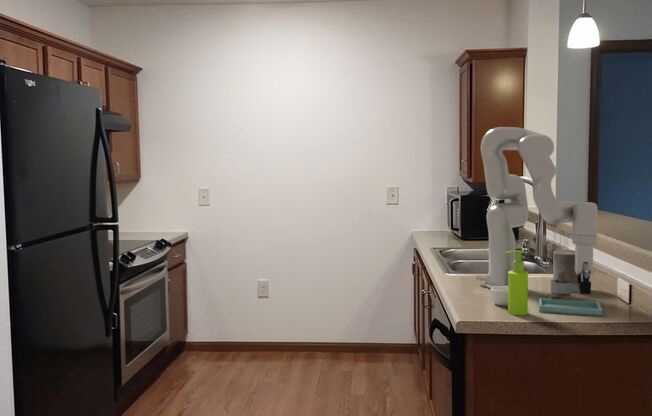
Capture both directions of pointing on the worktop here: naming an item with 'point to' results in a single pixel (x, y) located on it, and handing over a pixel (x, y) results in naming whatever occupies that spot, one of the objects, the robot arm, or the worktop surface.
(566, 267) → the pillar candle
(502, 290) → the teacup
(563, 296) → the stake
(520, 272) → the soap dispenser
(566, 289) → the wrench
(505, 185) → the robot arm
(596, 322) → the worktop surface
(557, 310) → the tray
